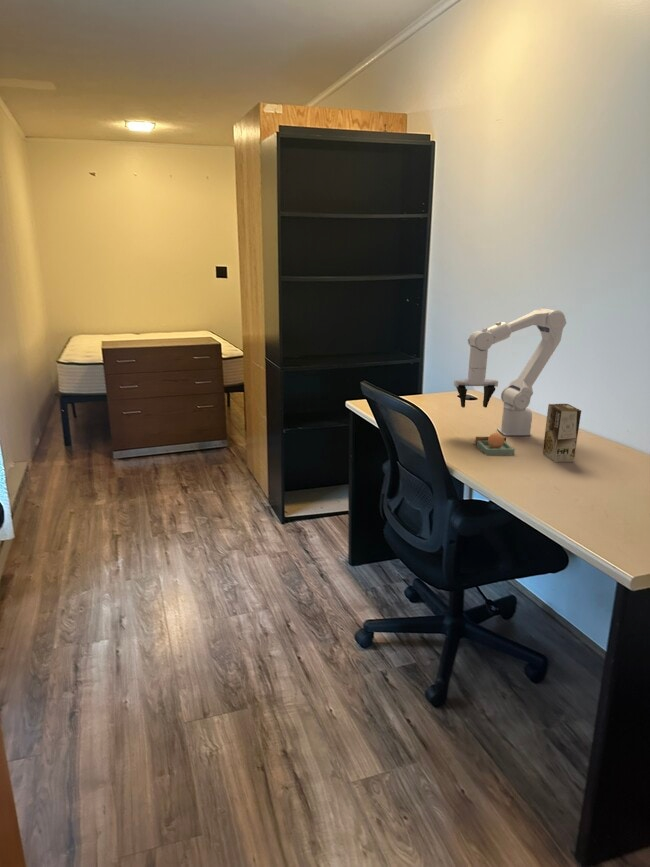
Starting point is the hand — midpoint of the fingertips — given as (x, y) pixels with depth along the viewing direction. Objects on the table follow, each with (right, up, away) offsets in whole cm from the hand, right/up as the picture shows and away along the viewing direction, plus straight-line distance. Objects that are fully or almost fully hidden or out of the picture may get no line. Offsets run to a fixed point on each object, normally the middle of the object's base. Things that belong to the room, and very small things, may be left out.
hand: (473, 406), depth 202 cm
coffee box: (+21, -17, -19) cm, 33 cm away
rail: (+4, -13, -7) cm, 15 cm away
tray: (+3, -14, -13) cm, 20 cm away
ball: (+3, -14, -13) cm, 19 cm away
